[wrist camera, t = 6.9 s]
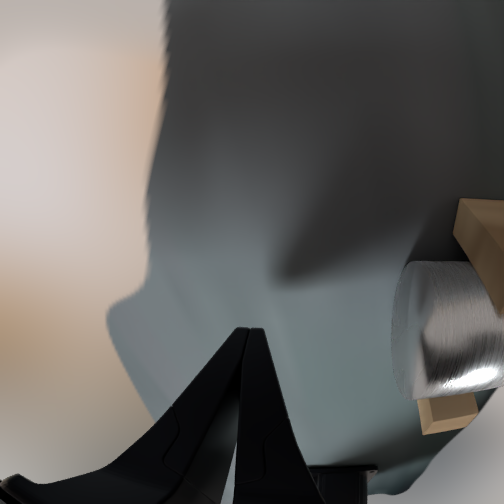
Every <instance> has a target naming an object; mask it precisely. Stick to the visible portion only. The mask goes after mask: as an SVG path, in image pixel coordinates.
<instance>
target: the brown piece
mask: <svg viewBox="0 0 504 504" xmlns="http://www.w3.org/2000/svg"><path fill="white" fill-rule="evenodd" d="M453 235H454V236H455V238H456V240H457V241H458V243H459V244H460V246H461V247H462V249H463V250H464V252H465V253H466V255H467V257H468V258H469V260H470V261H471V263H472V265H473V266H474V268H475V270H476V271H477V273H478V275H479V277H480V278H481V280H482V282H483V284H484V285H485V287H486V289H487V291H488V292H489V294H490V296H491V298H492V300H493V302H494V304H495V306H496V307H497V309H498V311H499V313H500V314H504V201H503V200H487V199H467V198H460V199H459V205H458V210H457V215H456V220H455V225H454V229H453ZM417 402H418V408H419V414H420V420H421V427H422V434H423V435H426V434H432V433H438V432H444V431H449V430H454V429H459V428H463V427H467V425H468V424H469V423H470V422H471V421H472V420H473V419H474V418H475V417H476V415H477V414H478V413H479V412H478V408H477V404H476V400H475V396H474V393H473V392H470V393H464V394H458V395H451V396H444V397H436V398H428V399H419V400H417Z"/></svg>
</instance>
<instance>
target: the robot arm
mask: <svg viewBox="0 0 504 504" xmlns="http://www.w3.org/2000/svg"><path fill="white" fill-rule="evenodd" d="M236 442H237V449H236V466H235V483H234V484H235V487H234V497H233V504H367V483H368V482H369V481H370V480H371V479H372V477H373V476H374V475H375V474H376V473H377V472H378V466H368V467H355V468H334V469H308V467H307V465H306V463H305V461H304V458H303V456H302V454H301V451H300V449H299V447H298V444H297V442H296V439H295V436H294V433H293V430H292V426H291V423H290V419H289V416H288V413H287V409H286V406H285V402H284V399H283V395H282V392H281V388H280V384H279V381H278V377H277V374H276V370H275V367H274V363H273V360H272V356H271V352H270V349H269V345H268V342H267V338H266V335H265V331H264V329H263V328H251V329H250V328H248V327H237V328H236V329H235V330H234V331H233V332H232V333H231V335H230V336H229V337H228V338H227V340H226V341H225V342H224V343H223V344H222V346H221V347H220V348H219V349H218V351H217V352H216V353H215V354H214V355H213V357H212V358H211V359H210V360H209V361H208V363H207V364H206V365H205V366H204V367H203V369H202V370H201V371H200V372H199V373H198V375H197V376H196V377H195V378H194V379H193V381H192V382H191V383H190V384H189V385H188V387H187V388H186V389H185V390H184V391H183V392H182V394H181V395H180V396H179V397H178V398H177V399H176V401H175V402H174V403H173V404H172V406H170V407H169V409H168V410H167V411H166V412H165V413H164V415H163V416H162V417H161V418H160V419H159V420H158V421H157V422H156V423H155V424H154V425H153V426H152V427H151V428H150V429H149V430H148V431H147V432H146V433H145V434H144V435H143V436H142V437H141V438H139V439H138V440H137V441H136V442H135V443H134V444H133V445H132V446H130V447H129V448H128V449H127V450H126V451H125V452H123V453H122V454H121V455H120V456H119V457H118V458H117V459H115V460H114V461H113V462H112V463H110V464H108V465H107V466H105V467H103V468H101V469H99V470H96V471H93V472H90V473H86V474H83V475H79V476H76V477H72V478H69V479H65V480H61V481H57V482H53V483H48V484H37V483H34V482H32V481H31V480H29V479H27V478H25V477H24V476H22V475H20V474H15V475H12V476H10V477H7V478H6V479H4V480H3V481H2V480H0V504H220V503H221V500H222V496H223V492H224V488H225V485H226V481H227V477H228V473H229V469H230V466H231V462H232V458H233V454H234V450H235V446H236Z"/></svg>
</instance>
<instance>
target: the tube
mask: <svg viewBox="0 0 504 504" xmlns="http://www.w3.org/2000/svg"><path fill="white" fill-rule="evenodd" d="M391 351H392V363H393V370H394V376H395V380H396V383H397V387H398V389H399V391H400V393H401V395H402V396H403V397H404V398H405V399H407V400H419V399H428V398H436V397H444V396H451V395H458V394H464V393H470V392H476V391H481V390H486V389H492V388H496V387H501V386H504V314H500V313H499V311H498V309H497V307H496V306H495V304H494V302H493V300H492V298H491V296H490V294H489V292H488V291H487V289H486V287H485V285H484V284H483V282H482V280H481V278H480V277H479V275H478V273H477V271H476V270H475V268H474V266H473V265H472V263H471V262H468V261H411V262H410V263H408V264H407V265H406V267H405V268H404V269H403V271H402V273H401V276H400V278H399V282H398V285H397V289H396V293H395V299H394V305H393V313H392V327H391Z"/></svg>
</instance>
